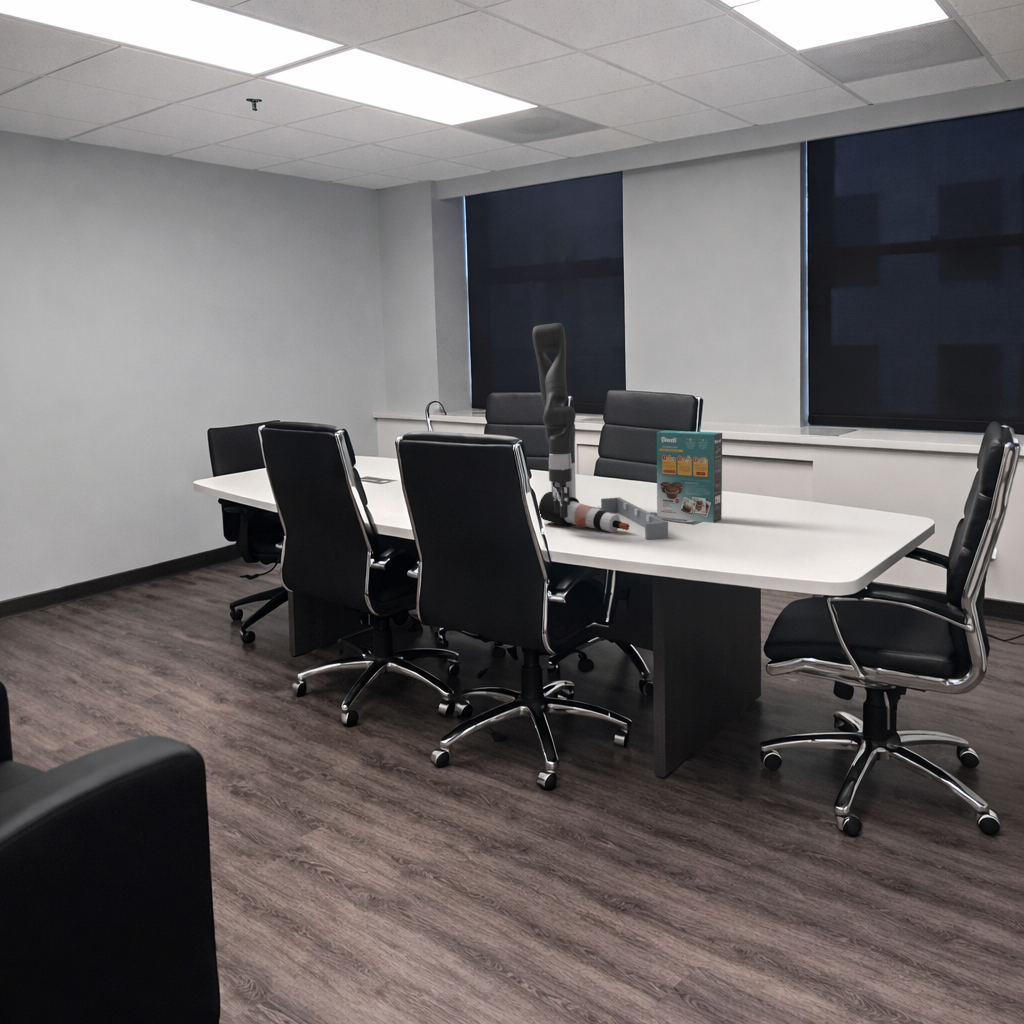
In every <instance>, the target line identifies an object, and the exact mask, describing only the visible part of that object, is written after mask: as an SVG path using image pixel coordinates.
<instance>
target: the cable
mask: <svg viewBox="0 0 1024 1024" xmlns="http://www.w3.org/2000/svg"><path fill="white" fill-rule="evenodd" d="M569 497H570V496H569ZM564 502H566V501H565V500H564ZM539 511H540V514H541V517H540V518H541V519H542V520H544V521H547V522H550V523H554V524H557V525H562V526H565V527H571V526H573V525H577V526H581V527H585V528H589V529H590V528H591V529H595V530H600V531H605V532H610V533H616V532H617V531H618V529H619V530H620V529H621V530H625V531H628V530H630V524H629V523H626V522H623V521H621V519H620V516H619V515H618V514H616V513H613V512H606V511H603V510H601V508H596V507H595V506H590V505H587V504H584V503H580V501H579V499H578V498H577V497H576V498H574V497H570V505H568V517H567V518H562V517H561V510H560V513H555V507H554V501H553V499H552V492H551V491H548V492H546V493H544V495H543V496H542V497H541V498H540V501H539V505H538V512H539ZM540 514H539V515H540Z"/></svg>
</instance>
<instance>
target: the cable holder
mask: <svg viewBox="0 0 1024 1024" xmlns="http://www.w3.org/2000/svg"><path fill="white" fill-rule="evenodd" d="M600 504H601V505H600V507H601V508H600V510H603V511H606V512H609V513H619V514H620V515H622V516H624V517H626V518H628V519H629V520H630V521H633V522H634V523H636V524H638V525H639V526H641V527H643V528H644V531H645V532H644V538H645V539H644V540H657V539H658V540H659V539H668V538H669V522H668V521H666V520H664V519H662V518H661V517H657V515H654V514H653V513H650V512H649V511H646V510H645V509H643V508H641V507H639V506H637V505H635V504H633V503H631V502H630V501H628V500H626V499H623V498H621V497H608V498H607V497H605V498H601V499H600Z"/></svg>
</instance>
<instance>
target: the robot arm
mask: <svg viewBox="0 0 1024 1024" xmlns="http://www.w3.org/2000/svg"><path fill="white" fill-rule="evenodd" d="M565 330H566V329H565V328H564V326H563V323H560V322H557V323H556V322H555V323H546V324H539V325H536V326H534V327H533V329H532V343H533V348H534V352H535V358H536V362H537V368H538V377H539V379H538V380H539V387H540V393H541V394H540V395H541V401H542V405H543V411H544V412H543V416H542V421H543V424H544V425H545V426H544V427H545V429H544V430H545V438H546V441H547V443H548V445H549V446H548V449H549V451H548V452H549V454H548V455H549V456H548V480H549V482H550V488H551V489H550V492H552V499H553V501H554V507H555V513H560V510H561V517H562V518H567V517H568V505H570V497H574V498H576V499H577V497H576V496H577V490H576V489H577V487H576V424H575V421H576V417H577V415H576V411H575V409H574V408H573V407H572V406H569V405H564V406H563V404H565V403H566V402H567V401H568V397H569V396H568V387H567V377H566V376H567V375H566V372H567V371H566V367H567V340H566V333H565ZM555 351H556V356H555V358H554V360H553V362H552V361H551V360H550V359H549V357H548V355H547V353H546V352H555ZM569 496H570V497H569ZM564 500H565V501H566V502H564Z"/></svg>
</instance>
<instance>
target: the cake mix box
mask: <svg viewBox="0 0 1024 1024" xmlns="http://www.w3.org/2000/svg"><path fill="white" fill-rule="evenodd" d="M722 483H723V432H712V431H710V432H708V431H688V430H686V431H684V430H661V431H657V432H656V517H658V518H668V519H676V520H686V521H692V522H693V521H695V522H702V523H703V522H704V523H716V522H719V521H722V513H723V512H722V507H723V506H722V505H723V503H722V499H723V497H722V496H723V491H722V490H723V486H722V485H723V484H722Z"/></svg>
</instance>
